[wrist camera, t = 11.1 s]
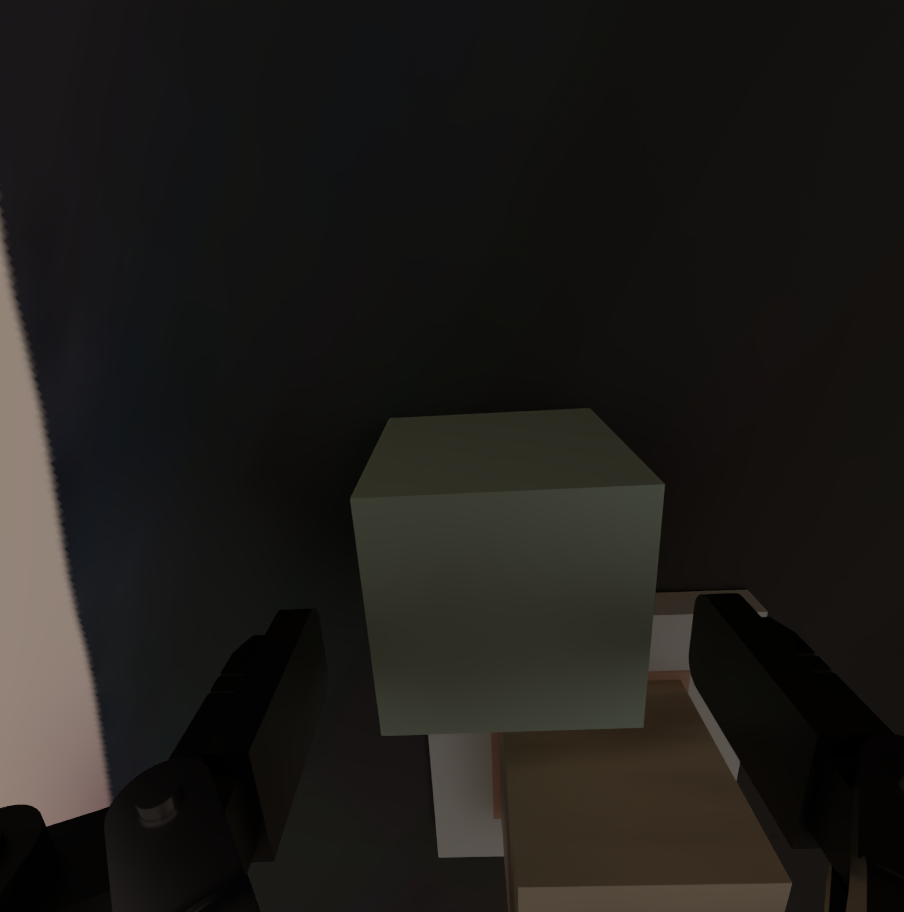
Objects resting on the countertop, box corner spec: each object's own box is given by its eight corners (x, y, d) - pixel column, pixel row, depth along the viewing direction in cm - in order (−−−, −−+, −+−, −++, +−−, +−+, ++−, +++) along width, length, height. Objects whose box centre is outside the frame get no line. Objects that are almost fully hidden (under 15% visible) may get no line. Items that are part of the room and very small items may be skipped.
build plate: (421, 600, 18) (418, 625, 16) (747, 589, 17) (769, 613, 16) (439, 826, 21) (438, 860, 20) (708, 820, 21) (724, 854, 20)
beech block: (498, 684, 17) (518, 887, 11) (680, 679, 17) (792, 882, 11) (500, 812, 19) (518, 1039, 13) (663, 809, 19) (751, 1037, 13)
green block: (389, 417, 16) (350, 499, 10) (588, 407, 15) (664, 484, 10) (406, 587, 18) (381, 735, 12) (583, 580, 17) (643, 727, 12)
